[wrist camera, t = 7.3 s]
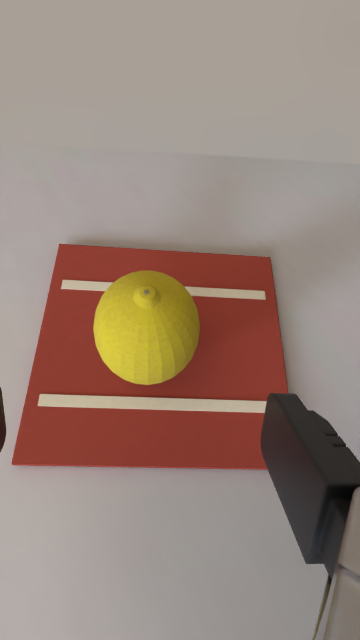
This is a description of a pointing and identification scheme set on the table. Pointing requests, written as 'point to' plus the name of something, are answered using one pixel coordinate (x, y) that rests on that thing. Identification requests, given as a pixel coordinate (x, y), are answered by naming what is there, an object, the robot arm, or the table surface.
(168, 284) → the lemon
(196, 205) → the table surface
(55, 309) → the pot holder
